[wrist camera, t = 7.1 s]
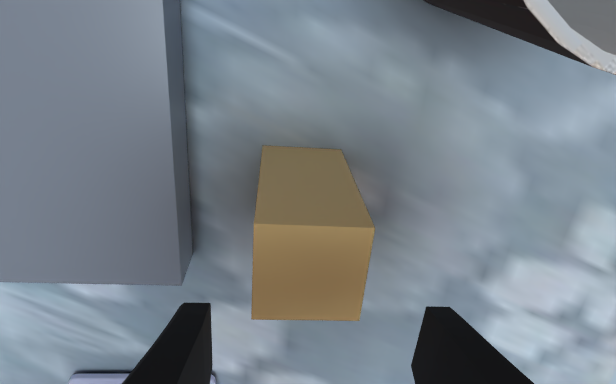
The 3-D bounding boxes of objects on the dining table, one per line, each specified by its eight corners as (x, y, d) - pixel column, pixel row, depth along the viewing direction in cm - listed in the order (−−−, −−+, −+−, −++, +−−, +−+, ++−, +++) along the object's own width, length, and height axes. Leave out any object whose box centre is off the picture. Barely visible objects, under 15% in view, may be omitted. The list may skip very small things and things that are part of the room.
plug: (332, 217, 19) (359, 320, 13) (260, 215, 19) (251, 319, 13) (340, 149, 18) (375, 228, 12) (262, 145, 18) (253, 223, 11)
